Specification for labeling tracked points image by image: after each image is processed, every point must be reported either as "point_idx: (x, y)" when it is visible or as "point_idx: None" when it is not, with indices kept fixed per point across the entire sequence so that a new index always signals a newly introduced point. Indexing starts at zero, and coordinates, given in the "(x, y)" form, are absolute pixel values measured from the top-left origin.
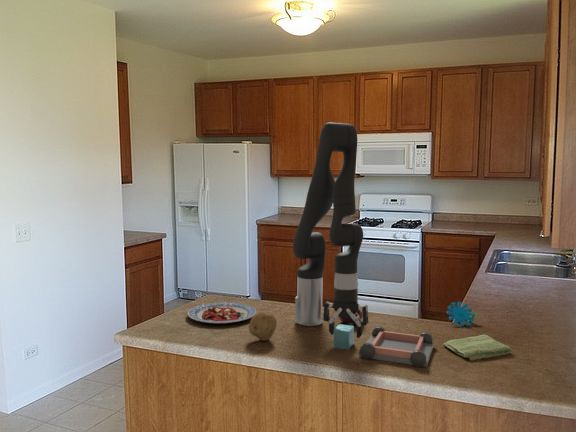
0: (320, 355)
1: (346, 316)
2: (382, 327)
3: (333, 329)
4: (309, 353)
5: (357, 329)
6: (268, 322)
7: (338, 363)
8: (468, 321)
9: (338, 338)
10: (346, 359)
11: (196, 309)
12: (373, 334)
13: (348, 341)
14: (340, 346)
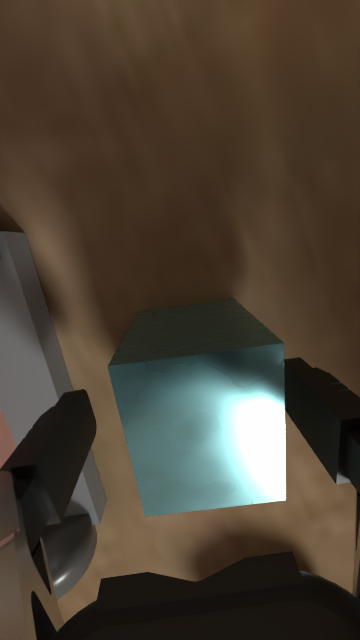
0: (263, 110)
1: (161, 617)
2: None
3: (299, 398)
4: (351, 103)
5: (42, 439)
6: None
7: (79, 13)
8: None
9: (213, 320)
10: (71, 139)
11: None
12: (79, 523)
13: (132, 328)
14: (191, 308)
